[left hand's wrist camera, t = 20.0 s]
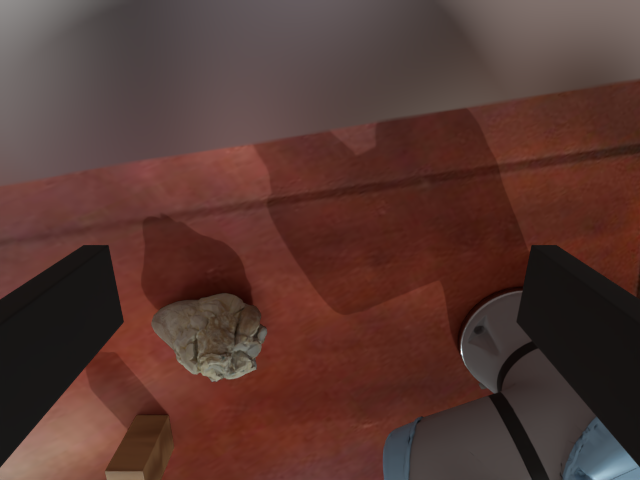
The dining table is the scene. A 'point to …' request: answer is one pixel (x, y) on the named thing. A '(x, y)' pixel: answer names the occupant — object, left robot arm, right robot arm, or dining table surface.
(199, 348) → the lumpy boulder
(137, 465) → the block
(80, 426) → the dining table surface
